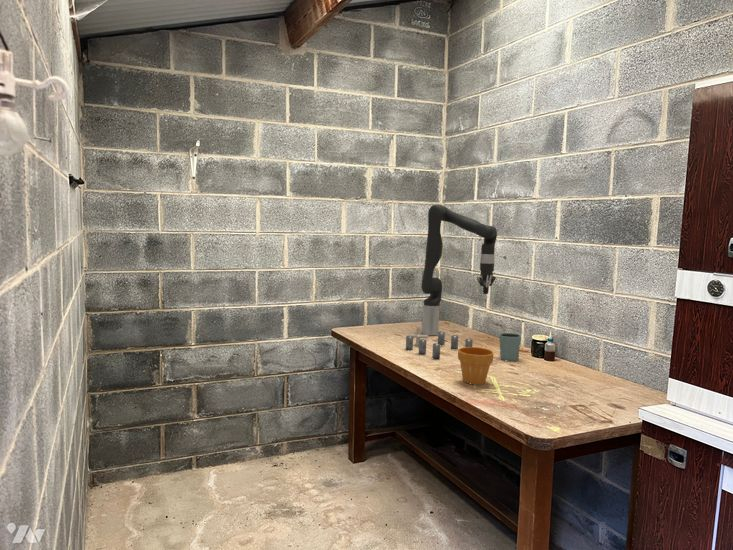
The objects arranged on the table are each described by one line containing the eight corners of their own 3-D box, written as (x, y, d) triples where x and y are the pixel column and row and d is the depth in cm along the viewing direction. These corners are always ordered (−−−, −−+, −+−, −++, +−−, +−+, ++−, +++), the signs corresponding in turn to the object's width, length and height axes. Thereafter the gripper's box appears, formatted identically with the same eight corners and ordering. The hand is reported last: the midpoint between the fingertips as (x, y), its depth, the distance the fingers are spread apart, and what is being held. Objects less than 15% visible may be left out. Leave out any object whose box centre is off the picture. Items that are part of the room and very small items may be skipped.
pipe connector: (426, 343, 283) (427, 325, 282) (427, 348, 273) (428, 329, 272) (408, 343, 283) (408, 324, 282) (408, 347, 273) (409, 328, 272)
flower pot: (498, 382, 216) (499, 351, 215) (481, 389, 206) (483, 357, 204) (467, 374, 225) (469, 345, 224) (450, 381, 215) (451, 350, 213)
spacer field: (404, 349, 268) (404, 335, 268) (441, 344, 283) (441, 331, 282) (435, 359, 249) (436, 345, 248) (473, 353, 264) (474, 339, 263)
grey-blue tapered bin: (523, 361, 252) (525, 336, 250) (505, 362, 248) (506, 337, 247) (511, 356, 261) (513, 332, 260) (493, 357, 258) (495, 333, 257)
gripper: (490, 261, 293) (488, 292, 295) (473, 262, 286) (472, 293, 287) (500, 262, 287) (499, 294, 289) (484, 263, 280) (482, 295, 281)
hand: (485, 293), depth 288 cm, fingers closed
